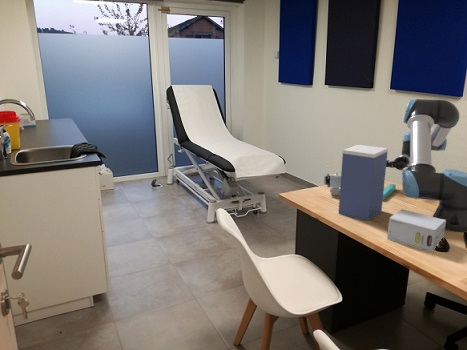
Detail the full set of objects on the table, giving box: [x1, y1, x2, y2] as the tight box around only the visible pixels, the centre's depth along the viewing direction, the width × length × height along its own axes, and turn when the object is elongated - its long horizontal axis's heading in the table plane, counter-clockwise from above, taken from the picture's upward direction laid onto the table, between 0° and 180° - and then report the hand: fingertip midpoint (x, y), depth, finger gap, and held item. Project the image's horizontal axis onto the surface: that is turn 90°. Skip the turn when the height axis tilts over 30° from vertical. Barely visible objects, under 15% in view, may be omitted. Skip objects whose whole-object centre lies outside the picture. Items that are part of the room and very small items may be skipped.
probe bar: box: [383, 183, 397, 201], centre depth 204 cm, size 24×3×3 cm, turn 143°
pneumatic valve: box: [323, 172, 341, 196], centre depth 203 cm, size 6×12×12 cm, turn 88°
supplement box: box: [386, 208, 446, 253], centre depth 150 cm, size 17×13×9 cm
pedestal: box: [338, 144, 389, 222], centre depth 176 cm, size 16×14×30 cm
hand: (389, 170), depth 202 cm, fingers open, 13 cm apart
